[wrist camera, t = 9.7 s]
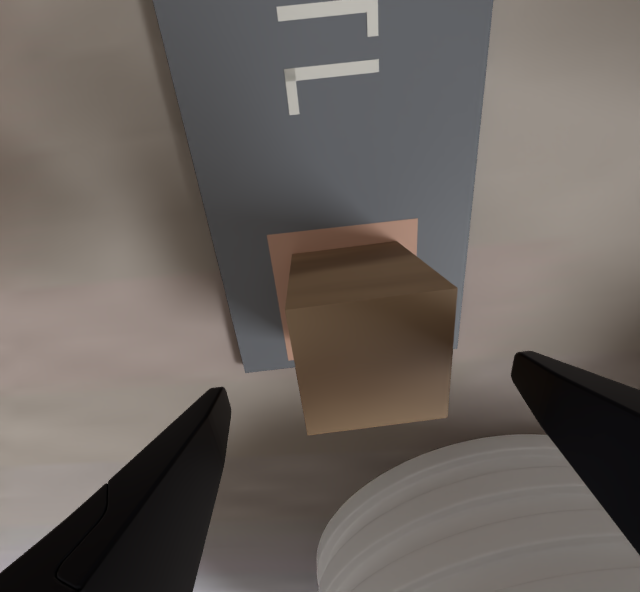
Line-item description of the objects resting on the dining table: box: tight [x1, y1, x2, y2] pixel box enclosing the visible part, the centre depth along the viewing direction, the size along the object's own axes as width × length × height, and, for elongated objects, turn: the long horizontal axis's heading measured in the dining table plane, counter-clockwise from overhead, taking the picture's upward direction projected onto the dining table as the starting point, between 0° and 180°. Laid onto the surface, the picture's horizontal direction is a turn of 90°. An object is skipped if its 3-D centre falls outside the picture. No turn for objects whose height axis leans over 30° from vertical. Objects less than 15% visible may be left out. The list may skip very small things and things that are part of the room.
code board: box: [153, 0, 493, 373], centre depth 11 cm, size 28×12×1 cm, turn 6°
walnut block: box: [285, 241, 458, 436], centre depth 12 cm, size 5×5×6 cm
